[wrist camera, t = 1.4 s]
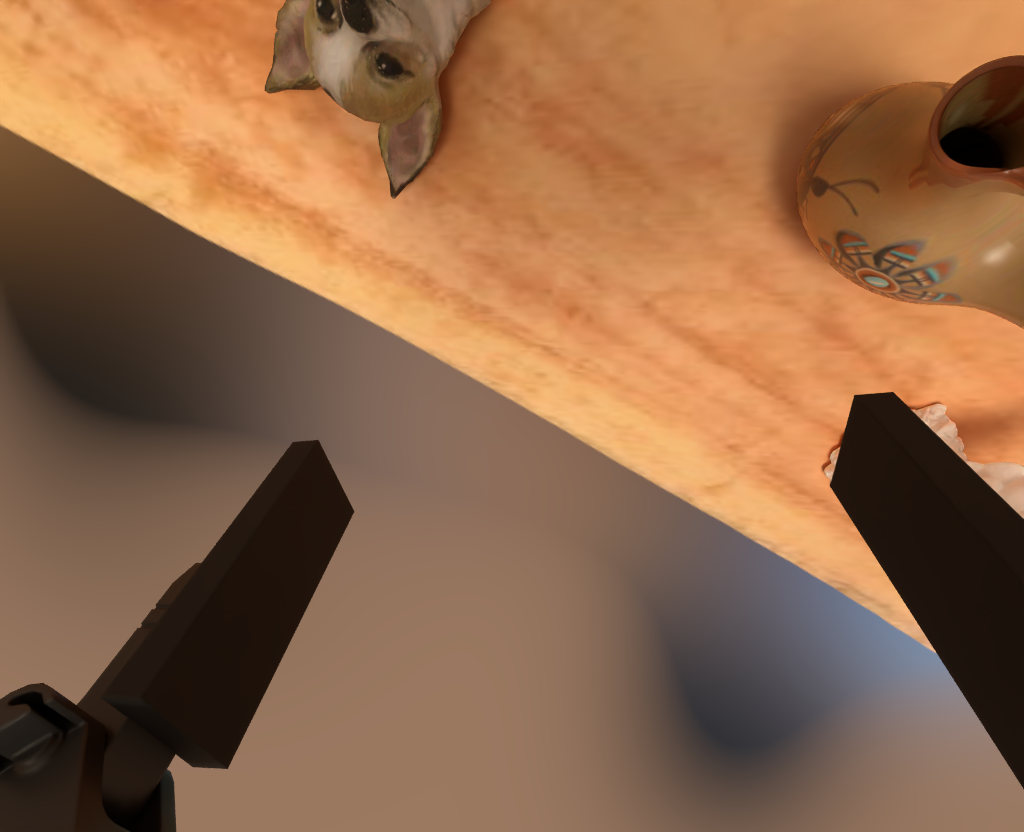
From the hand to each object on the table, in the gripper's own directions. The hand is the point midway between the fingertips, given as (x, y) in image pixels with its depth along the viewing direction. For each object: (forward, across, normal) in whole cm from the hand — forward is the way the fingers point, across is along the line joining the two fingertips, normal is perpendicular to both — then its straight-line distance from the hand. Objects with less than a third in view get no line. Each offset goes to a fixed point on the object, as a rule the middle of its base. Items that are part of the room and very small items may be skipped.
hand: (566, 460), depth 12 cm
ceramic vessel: (+27, +18, 0) cm, 32 cm away
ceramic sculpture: (+27, -9, +12) cm, 30 cm away
